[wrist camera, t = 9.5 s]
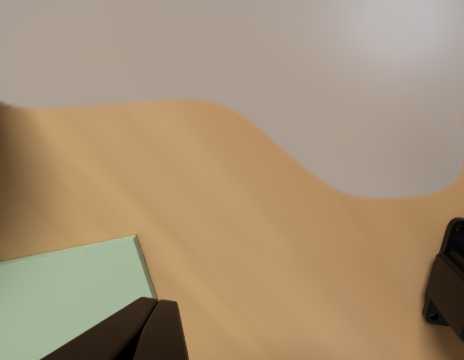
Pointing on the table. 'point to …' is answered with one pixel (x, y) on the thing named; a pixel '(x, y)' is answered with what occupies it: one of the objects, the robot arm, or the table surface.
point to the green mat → (67, 294)
